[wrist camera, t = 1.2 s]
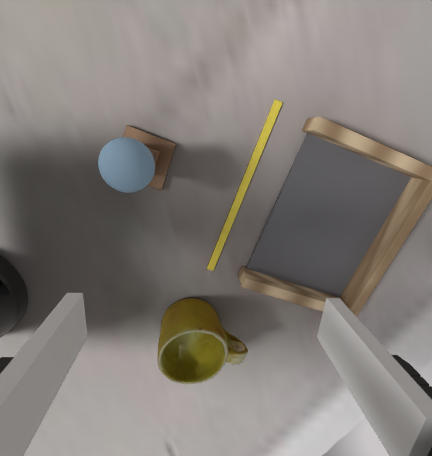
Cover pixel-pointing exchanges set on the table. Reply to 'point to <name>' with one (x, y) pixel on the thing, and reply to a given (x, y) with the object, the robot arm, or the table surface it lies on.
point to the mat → (326, 217)
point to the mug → (195, 343)
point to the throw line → (245, 182)
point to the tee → (154, 153)
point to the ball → (126, 164)
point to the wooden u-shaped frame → (386, 238)
